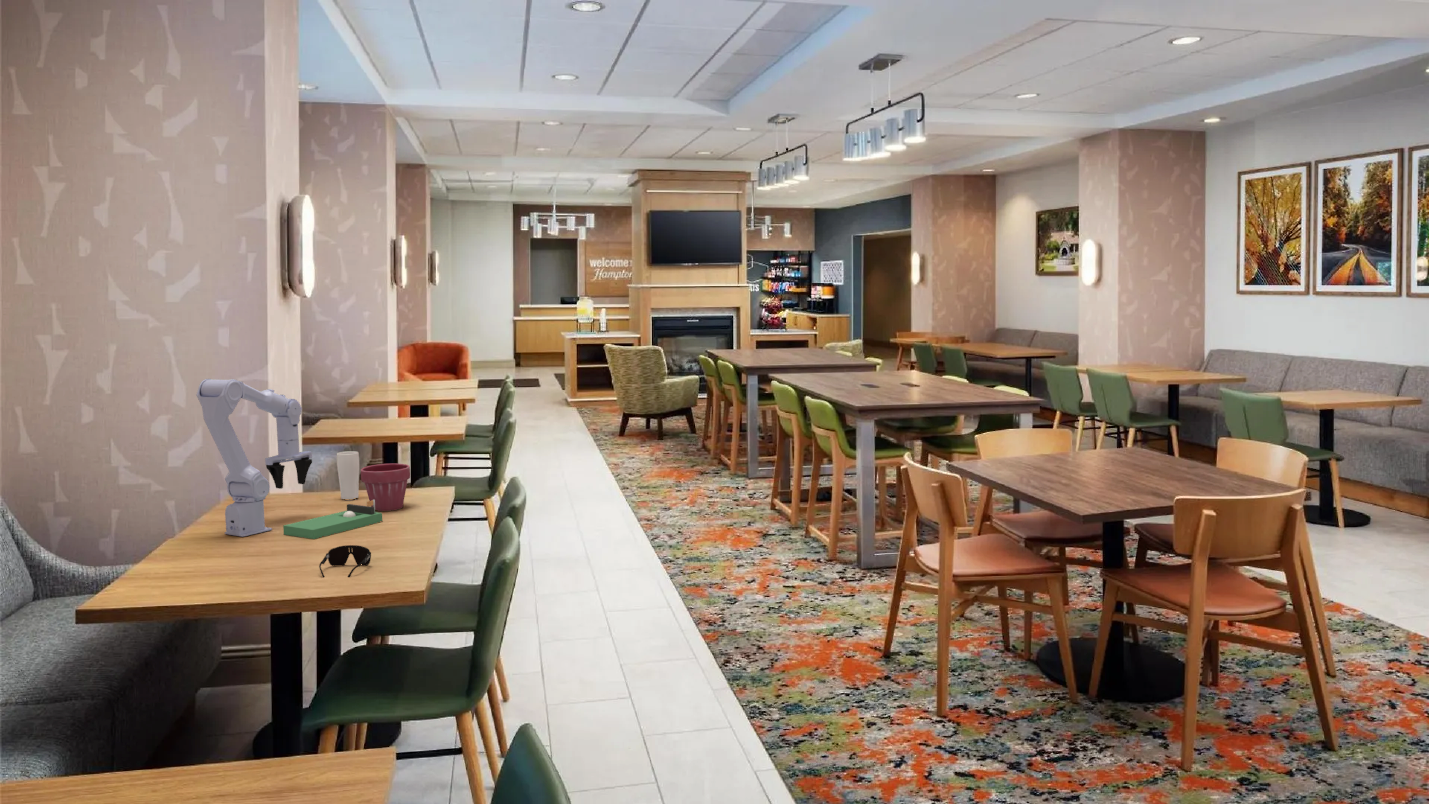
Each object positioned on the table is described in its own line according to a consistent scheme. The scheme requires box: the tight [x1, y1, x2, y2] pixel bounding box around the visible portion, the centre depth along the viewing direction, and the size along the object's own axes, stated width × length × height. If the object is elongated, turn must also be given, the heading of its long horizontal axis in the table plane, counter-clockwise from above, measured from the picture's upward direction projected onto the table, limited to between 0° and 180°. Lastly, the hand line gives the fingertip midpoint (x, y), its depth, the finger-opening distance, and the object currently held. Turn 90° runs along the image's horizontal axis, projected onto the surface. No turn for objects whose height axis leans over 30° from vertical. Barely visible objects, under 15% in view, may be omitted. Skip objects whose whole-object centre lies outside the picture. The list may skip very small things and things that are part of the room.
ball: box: [343, 510, 356, 517], centre depth 295 cm, size 4×4×4 cm
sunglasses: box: [318, 544, 372, 578], centre depth 245 cm, size 10×12×5 cm
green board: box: [282, 500, 383, 540], centre depth 290 cm, size 24×12×6 cm, turn 151°
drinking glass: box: [336, 450, 360, 500], centre depth 330 cm, size 7×7×15 cm
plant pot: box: [360, 463, 411, 512], centre depth 315 cm, size 14×14×13 cm
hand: (290, 486), depth 301 cm, fingers open, 7 cm apart
